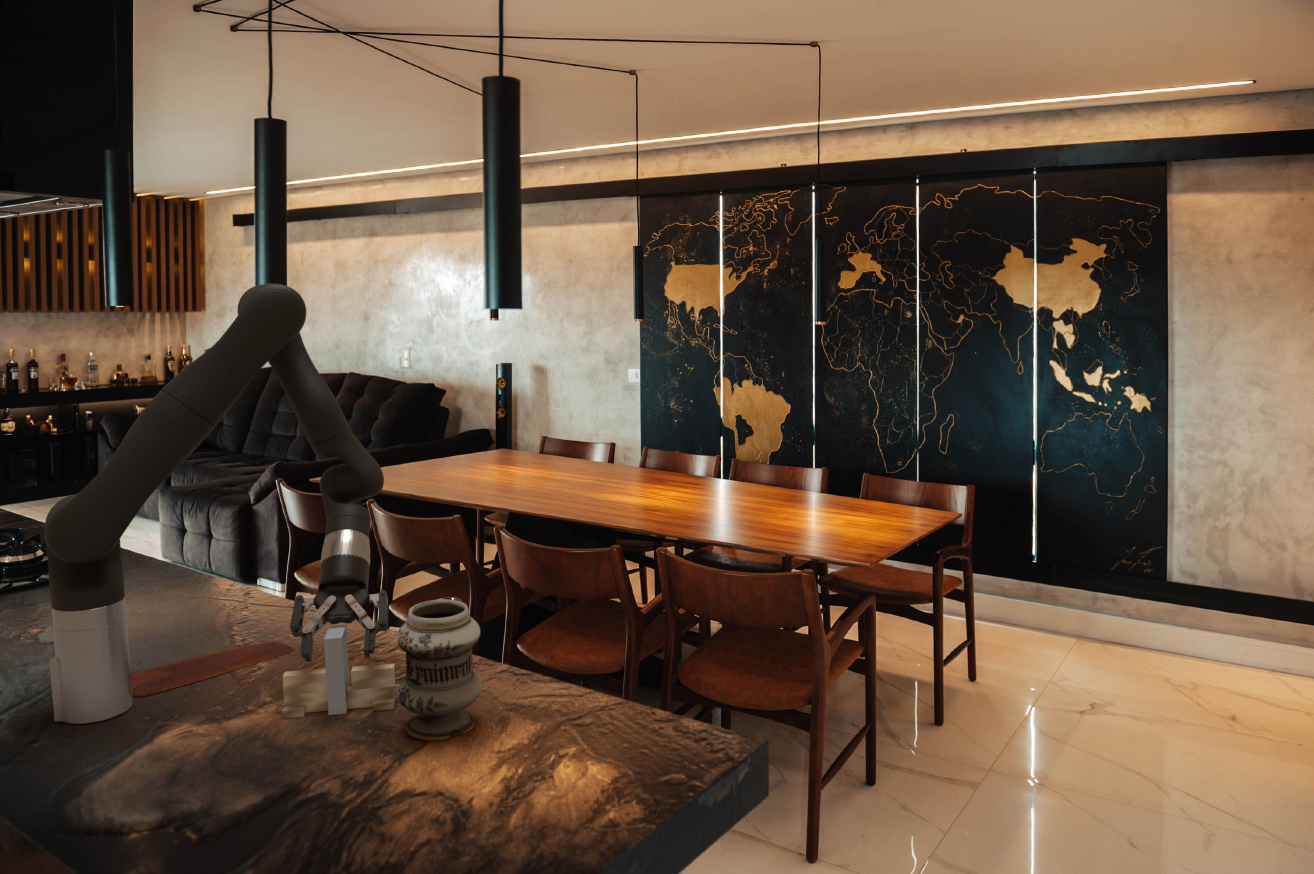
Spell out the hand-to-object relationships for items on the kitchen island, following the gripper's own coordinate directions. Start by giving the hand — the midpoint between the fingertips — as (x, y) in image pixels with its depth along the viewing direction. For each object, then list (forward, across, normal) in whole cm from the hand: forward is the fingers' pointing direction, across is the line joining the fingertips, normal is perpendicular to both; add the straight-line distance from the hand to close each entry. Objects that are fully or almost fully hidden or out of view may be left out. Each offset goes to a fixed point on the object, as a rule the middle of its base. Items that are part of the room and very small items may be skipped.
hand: (337, 657), depth 129 cm
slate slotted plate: (+5, 0, +7) cm, 9 cm away
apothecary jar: (+12, +15, 0) cm, 19 cm away
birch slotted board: (+5, 0, +7) cm, 9 cm away
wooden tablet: (-10, -24, +23) cm, 34 cm away
